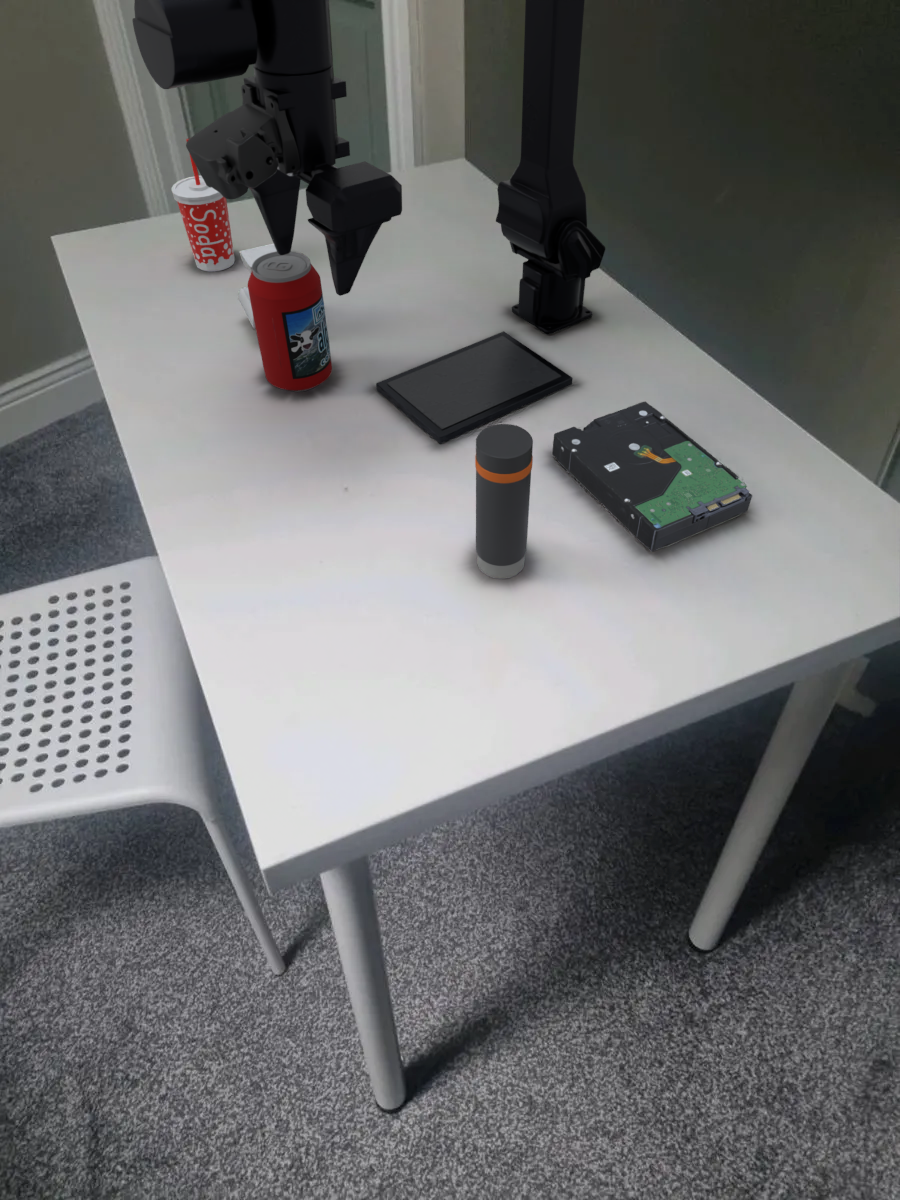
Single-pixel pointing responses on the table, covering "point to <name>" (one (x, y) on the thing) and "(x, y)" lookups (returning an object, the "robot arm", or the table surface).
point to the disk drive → (651, 475)
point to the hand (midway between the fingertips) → (312, 273)
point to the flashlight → (502, 498)
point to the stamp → (248, 259)
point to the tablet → (472, 386)
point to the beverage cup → (205, 222)
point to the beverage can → (290, 321)
